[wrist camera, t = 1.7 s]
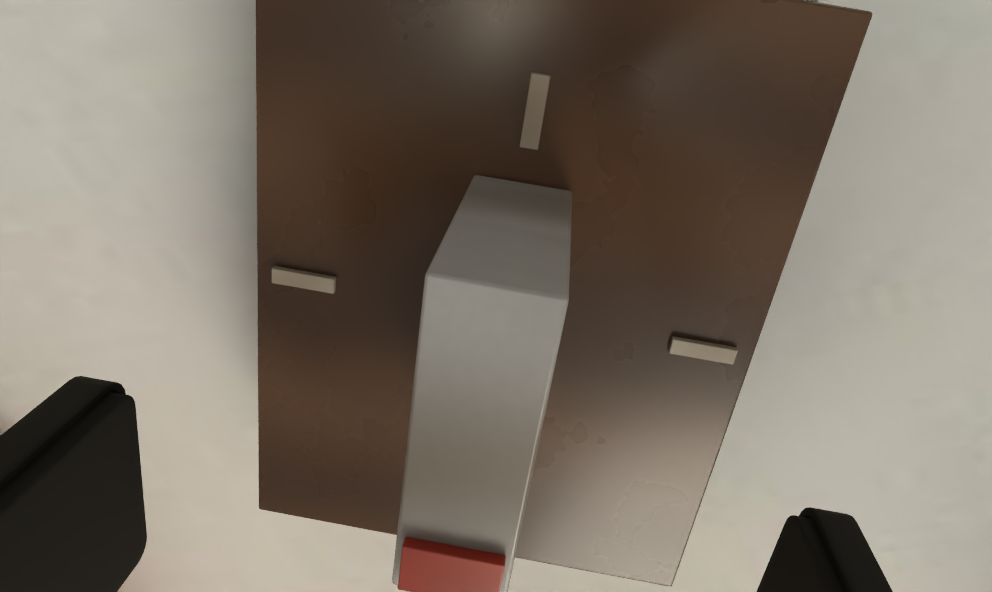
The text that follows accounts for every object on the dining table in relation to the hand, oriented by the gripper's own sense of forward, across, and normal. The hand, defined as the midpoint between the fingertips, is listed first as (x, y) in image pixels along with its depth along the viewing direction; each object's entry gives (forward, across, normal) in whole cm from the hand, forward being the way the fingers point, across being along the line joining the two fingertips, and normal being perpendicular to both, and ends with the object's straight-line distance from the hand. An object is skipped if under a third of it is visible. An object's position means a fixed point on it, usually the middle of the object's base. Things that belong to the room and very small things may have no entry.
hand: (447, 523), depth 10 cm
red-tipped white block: (+6, 0, 0) cm, 6 cm away
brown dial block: (+9, 0, 0) cm, 9 cm away
